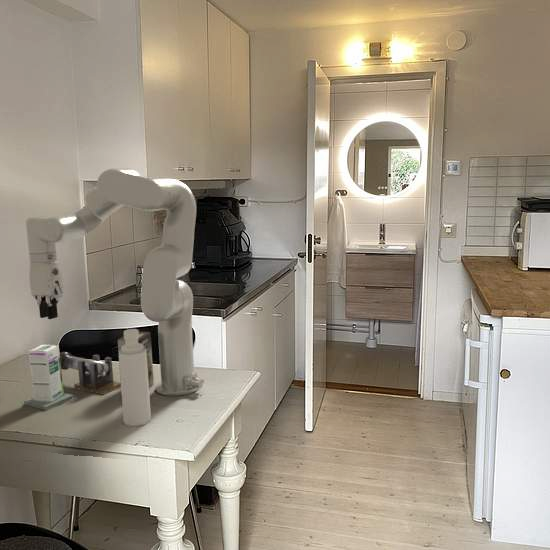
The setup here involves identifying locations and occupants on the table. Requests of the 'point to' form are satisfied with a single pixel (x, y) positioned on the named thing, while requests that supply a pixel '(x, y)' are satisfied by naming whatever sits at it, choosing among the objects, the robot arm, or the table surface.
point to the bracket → (96, 377)
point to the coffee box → (146, 341)
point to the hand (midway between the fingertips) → (49, 317)
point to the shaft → (72, 362)
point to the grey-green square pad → (48, 405)
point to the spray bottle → (134, 380)
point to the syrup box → (46, 373)
